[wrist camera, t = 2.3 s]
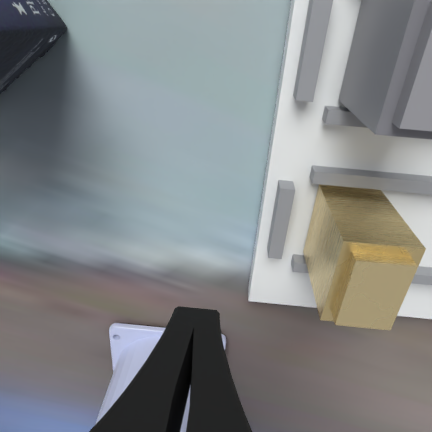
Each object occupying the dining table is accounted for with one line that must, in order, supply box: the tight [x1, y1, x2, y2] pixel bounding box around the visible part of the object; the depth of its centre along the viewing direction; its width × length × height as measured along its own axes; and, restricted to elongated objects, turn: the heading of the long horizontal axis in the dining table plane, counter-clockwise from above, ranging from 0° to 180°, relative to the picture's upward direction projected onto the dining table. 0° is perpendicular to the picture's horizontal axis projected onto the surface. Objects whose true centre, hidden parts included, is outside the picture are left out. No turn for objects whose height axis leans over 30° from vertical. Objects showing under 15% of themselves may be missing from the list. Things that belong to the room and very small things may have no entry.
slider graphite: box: [339, 0, 432, 140], centre depth 12 cm, size 4×3×6 cm
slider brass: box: [303, 184, 426, 330], centre depth 16 cm, size 4×3×6 cm
